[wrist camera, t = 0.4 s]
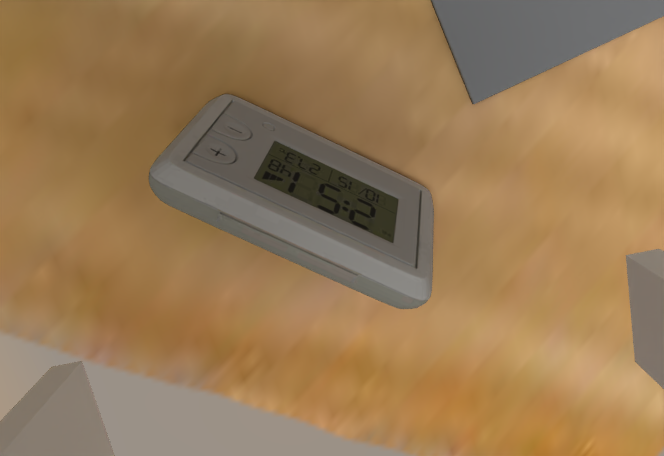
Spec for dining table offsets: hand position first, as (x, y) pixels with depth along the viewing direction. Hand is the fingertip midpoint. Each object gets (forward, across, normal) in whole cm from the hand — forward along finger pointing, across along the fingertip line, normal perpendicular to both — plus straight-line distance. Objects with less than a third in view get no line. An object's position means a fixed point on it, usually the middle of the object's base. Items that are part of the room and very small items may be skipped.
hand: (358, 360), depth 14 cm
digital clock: (+27, -2, 0) cm, 27 cm away
